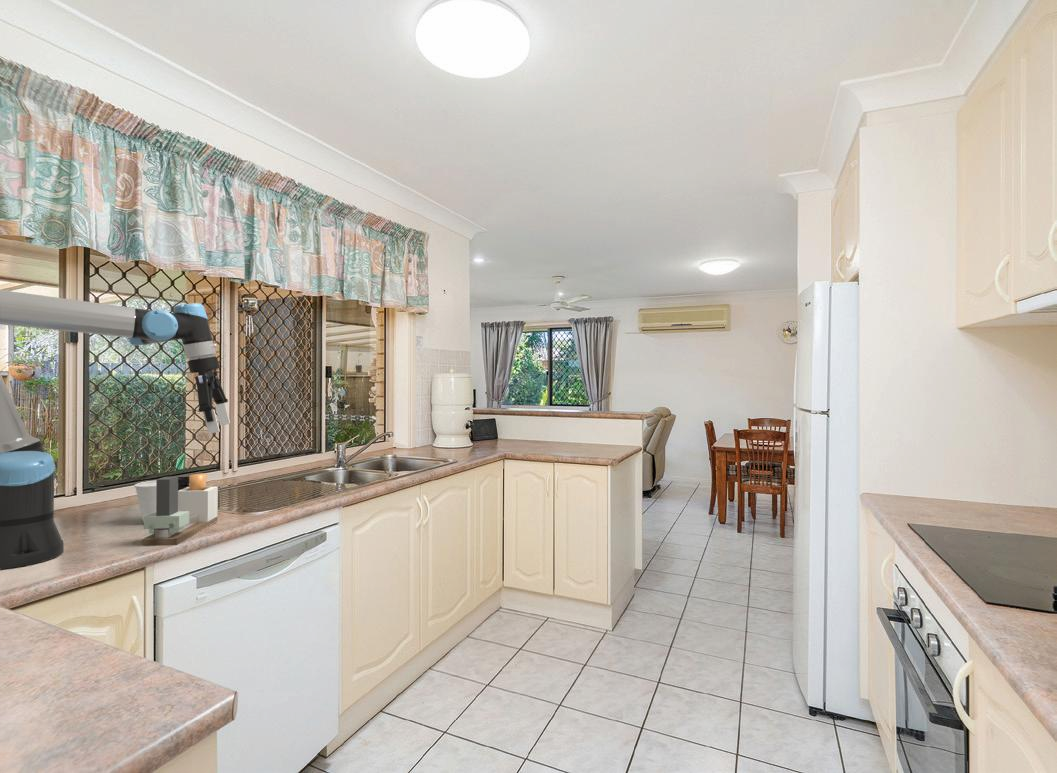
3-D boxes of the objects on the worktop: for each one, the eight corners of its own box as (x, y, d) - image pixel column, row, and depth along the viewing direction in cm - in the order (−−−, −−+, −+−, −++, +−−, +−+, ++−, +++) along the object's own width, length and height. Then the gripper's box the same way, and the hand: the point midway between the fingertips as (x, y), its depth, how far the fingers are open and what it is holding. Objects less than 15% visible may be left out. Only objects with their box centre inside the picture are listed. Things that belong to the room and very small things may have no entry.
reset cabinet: (176, 522, 146) (176, 491, 146) (187, 516, 152) (187, 487, 152) (207, 521, 147) (207, 490, 147) (217, 516, 153) (217, 486, 153)
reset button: (186, 494, 147) (186, 476, 147) (193, 491, 151) (193, 473, 151) (201, 493, 148) (201, 475, 148) (208, 490, 152) (208, 473, 152)
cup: (141, 528, 145) (140, 487, 145) (130, 522, 152) (129, 483, 151) (182, 520, 153) (181, 481, 153) (170, 515, 159) (169, 478, 159)
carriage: (144, 533, 131) (144, 480, 131) (155, 528, 136) (155, 476, 136) (179, 533, 132) (179, 479, 132) (189, 527, 137) (189, 476, 137)
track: (141, 545, 130) (141, 531, 130) (187, 522, 152) (187, 509, 152) (176, 544, 131) (176, 530, 131) (217, 521, 153) (217, 509, 153)
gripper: (204, 357, 144) (224, 433, 147) (226, 353, 167) (242, 419, 170) (173, 362, 141) (193, 439, 145) (199, 357, 165) (216, 424, 168)
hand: (220, 428), depth 158 cm, fingers open, 13 cm apart
